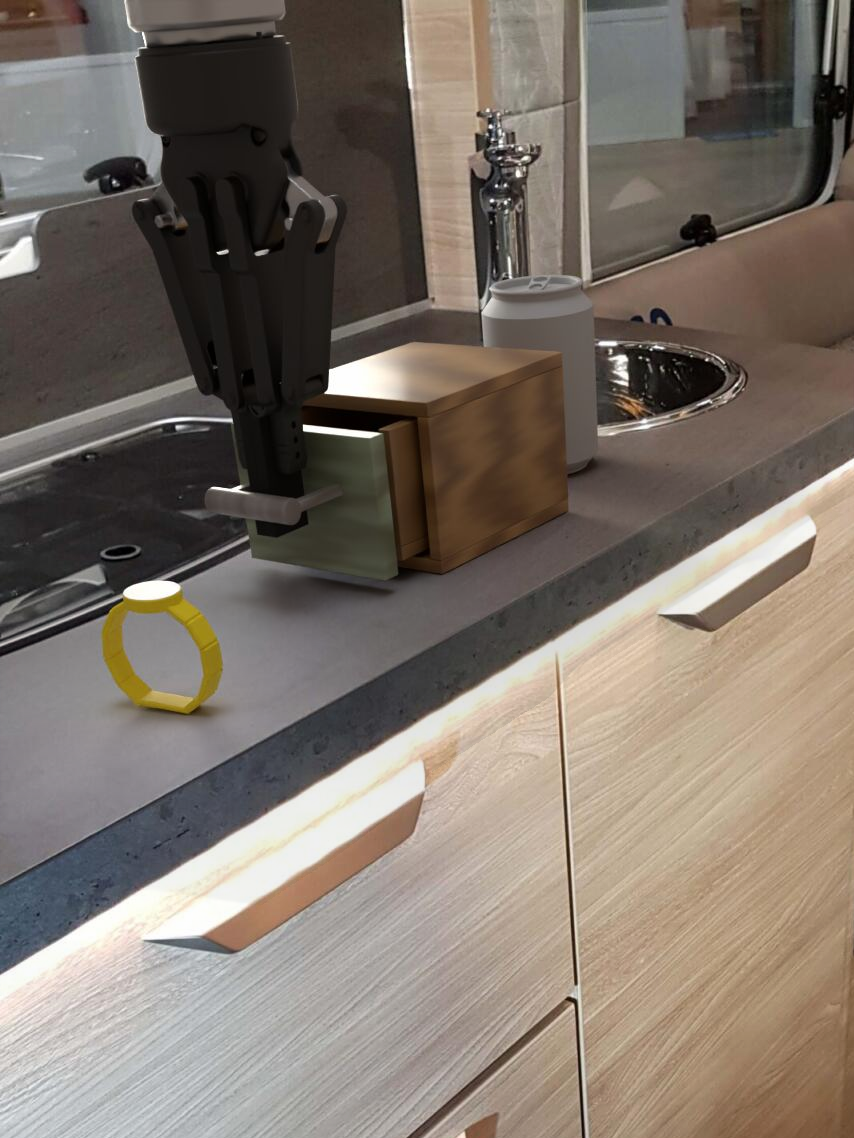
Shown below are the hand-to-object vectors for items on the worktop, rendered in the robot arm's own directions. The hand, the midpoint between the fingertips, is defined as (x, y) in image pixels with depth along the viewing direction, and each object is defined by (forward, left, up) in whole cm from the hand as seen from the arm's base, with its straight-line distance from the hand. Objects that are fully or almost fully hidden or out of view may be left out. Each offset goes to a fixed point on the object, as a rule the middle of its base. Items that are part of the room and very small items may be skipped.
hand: (283, 529), depth 87 cm
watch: (+1, -16, -4) cm, 17 cm away
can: (+7, +28, -4) cm, 29 cm away
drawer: (+2, +6, -3) cm, 7 cm away
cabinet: (+4, +13, -4) cm, 14 cm away
